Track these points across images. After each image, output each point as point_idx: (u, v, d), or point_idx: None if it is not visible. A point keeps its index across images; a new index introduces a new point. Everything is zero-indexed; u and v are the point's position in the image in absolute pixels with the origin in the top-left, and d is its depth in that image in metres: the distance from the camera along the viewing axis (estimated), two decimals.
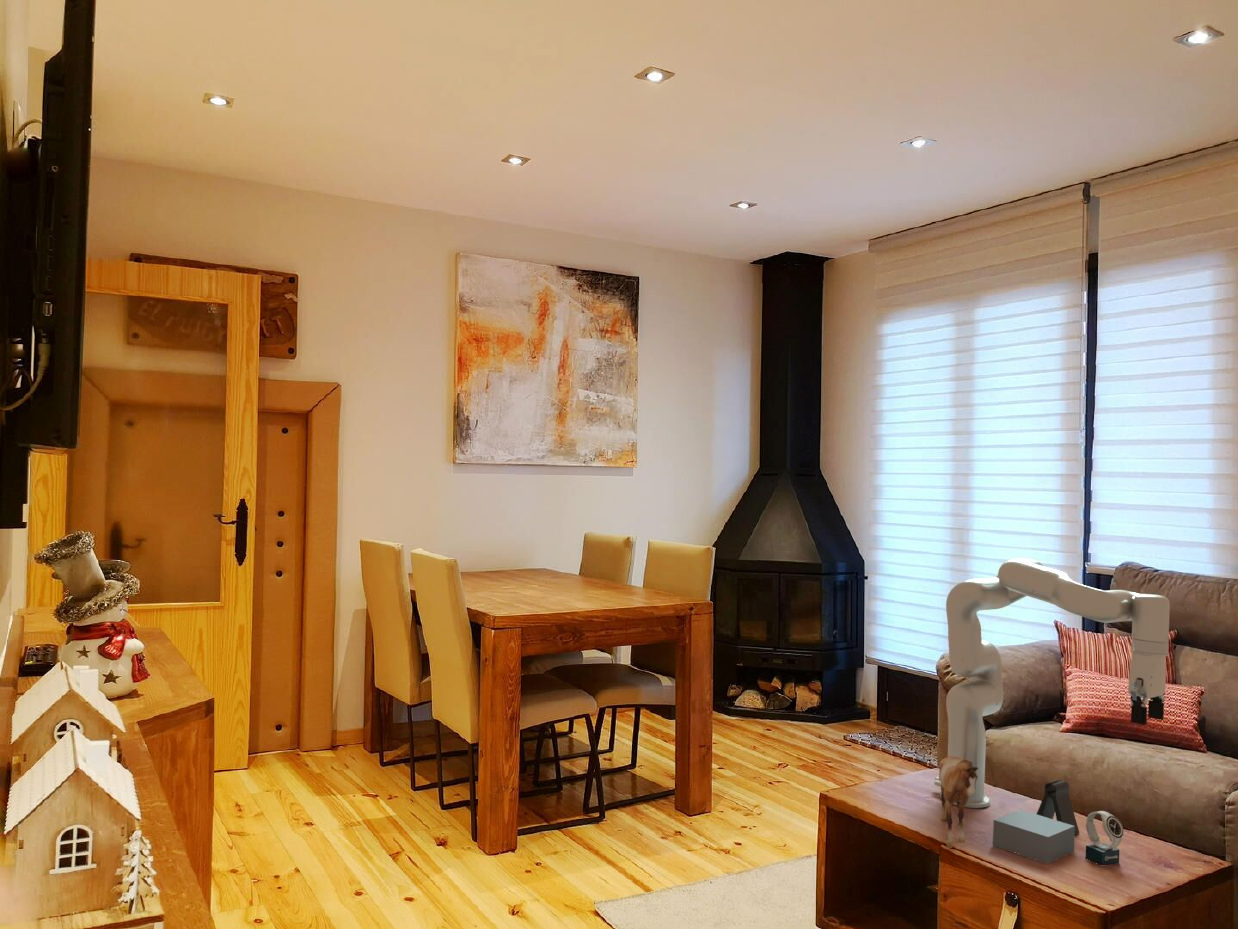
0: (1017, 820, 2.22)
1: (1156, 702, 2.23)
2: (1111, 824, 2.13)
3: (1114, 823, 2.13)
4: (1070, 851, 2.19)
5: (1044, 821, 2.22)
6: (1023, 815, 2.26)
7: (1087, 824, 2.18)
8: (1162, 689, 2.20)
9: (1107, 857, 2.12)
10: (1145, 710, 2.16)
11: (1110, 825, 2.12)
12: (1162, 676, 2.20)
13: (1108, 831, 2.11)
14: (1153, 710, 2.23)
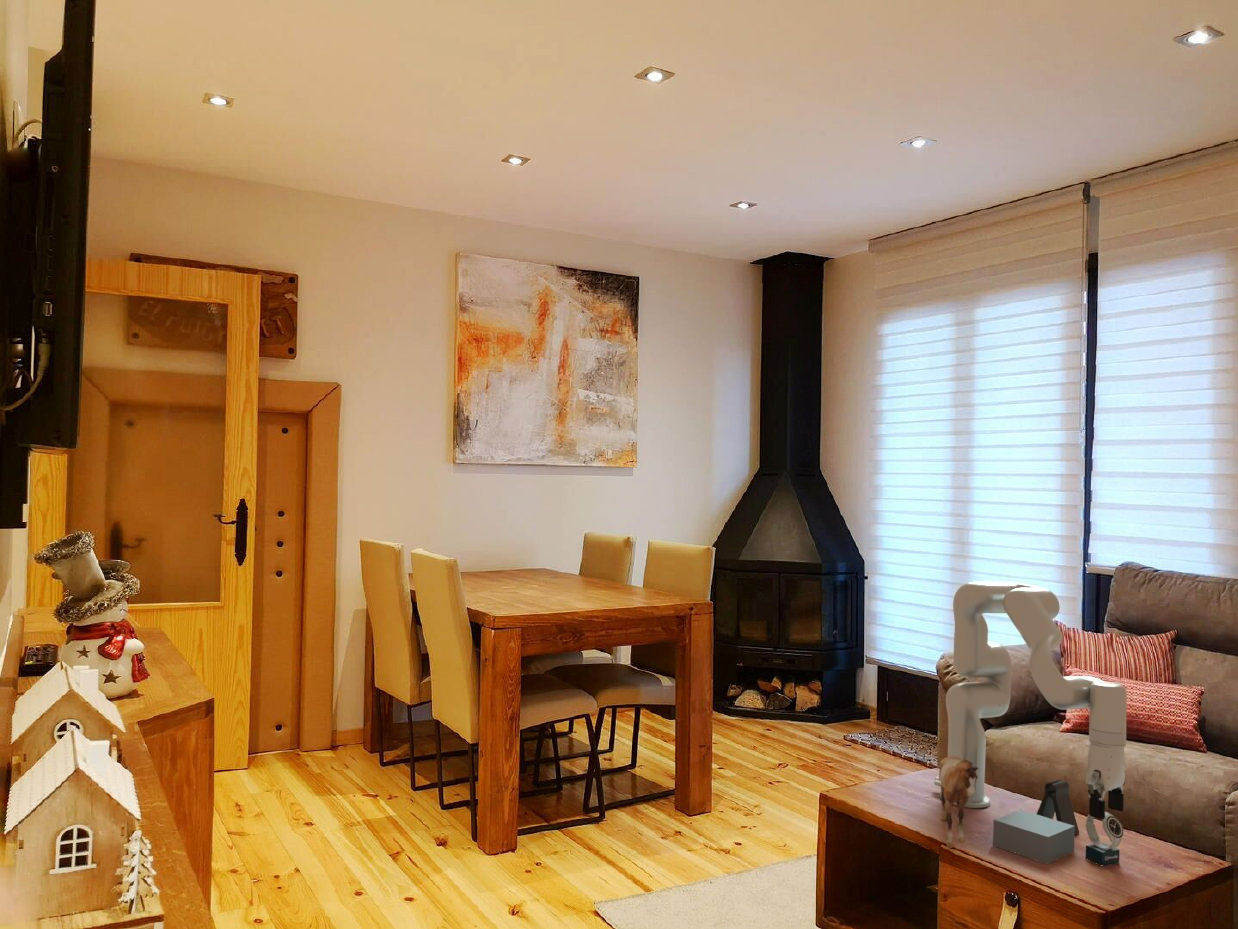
0: (1017, 820, 2.22)
1: (1116, 793, 2.18)
2: (1111, 824, 2.13)
3: (1114, 823, 2.13)
4: (1070, 851, 2.19)
5: (1044, 821, 2.22)
6: (1023, 815, 2.26)
7: (1087, 824, 2.18)
8: (1121, 781, 2.15)
9: (1107, 857, 2.12)
10: (1103, 804, 2.10)
11: (1110, 825, 2.12)
12: (1120, 767, 2.14)
13: (1108, 831, 2.11)
14: (1113, 801, 2.18)
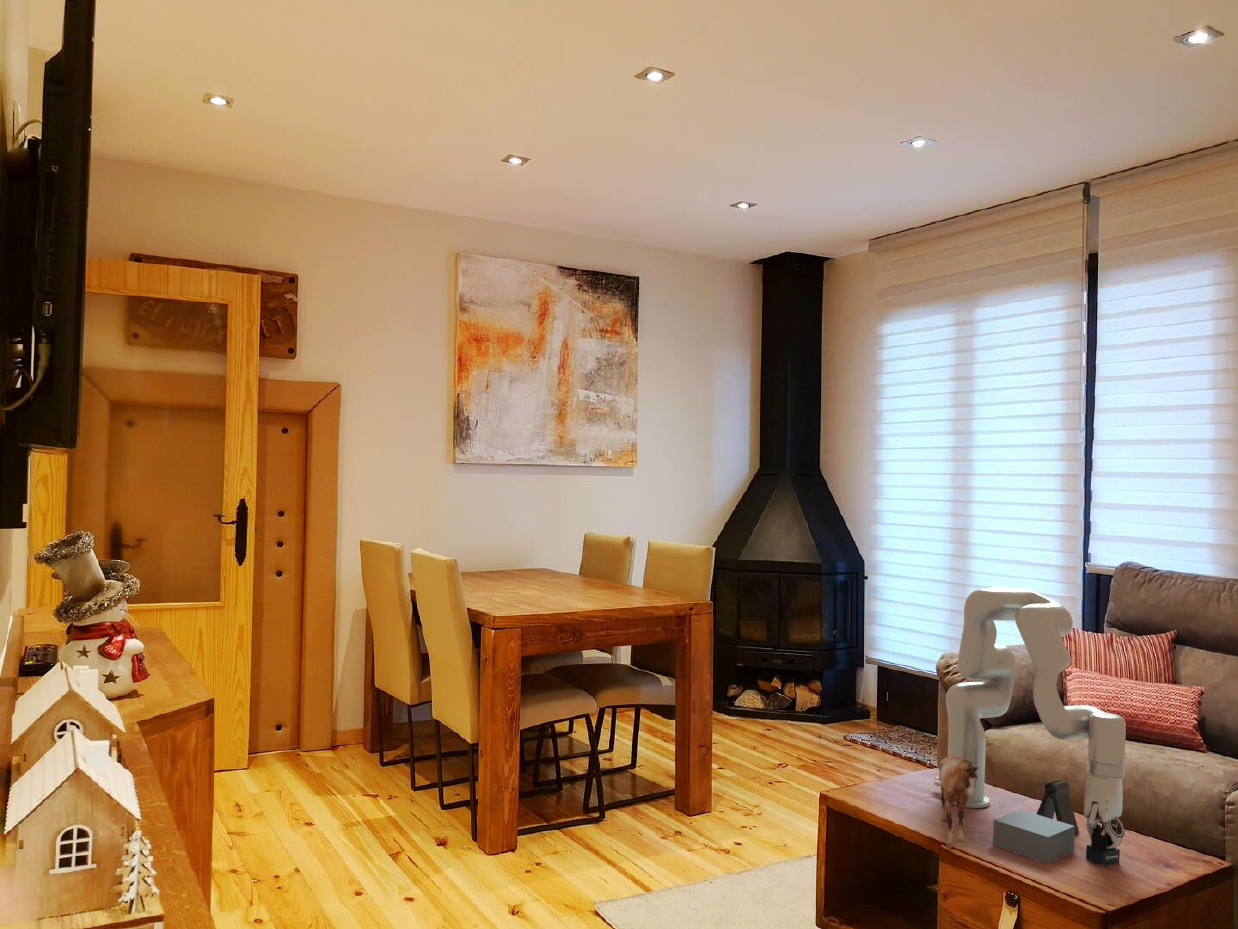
0: (1017, 820, 2.22)
1: None
2: (1113, 824, 2.13)
3: (1116, 822, 2.13)
4: (1070, 851, 2.19)
5: (1044, 821, 2.22)
6: (1023, 815, 2.26)
7: (1088, 824, 2.18)
8: (1119, 812, 2.15)
9: (1108, 856, 2.12)
10: (1105, 839, 2.12)
11: (1112, 825, 2.12)
12: (1118, 799, 2.14)
13: (1110, 830, 2.11)
14: None
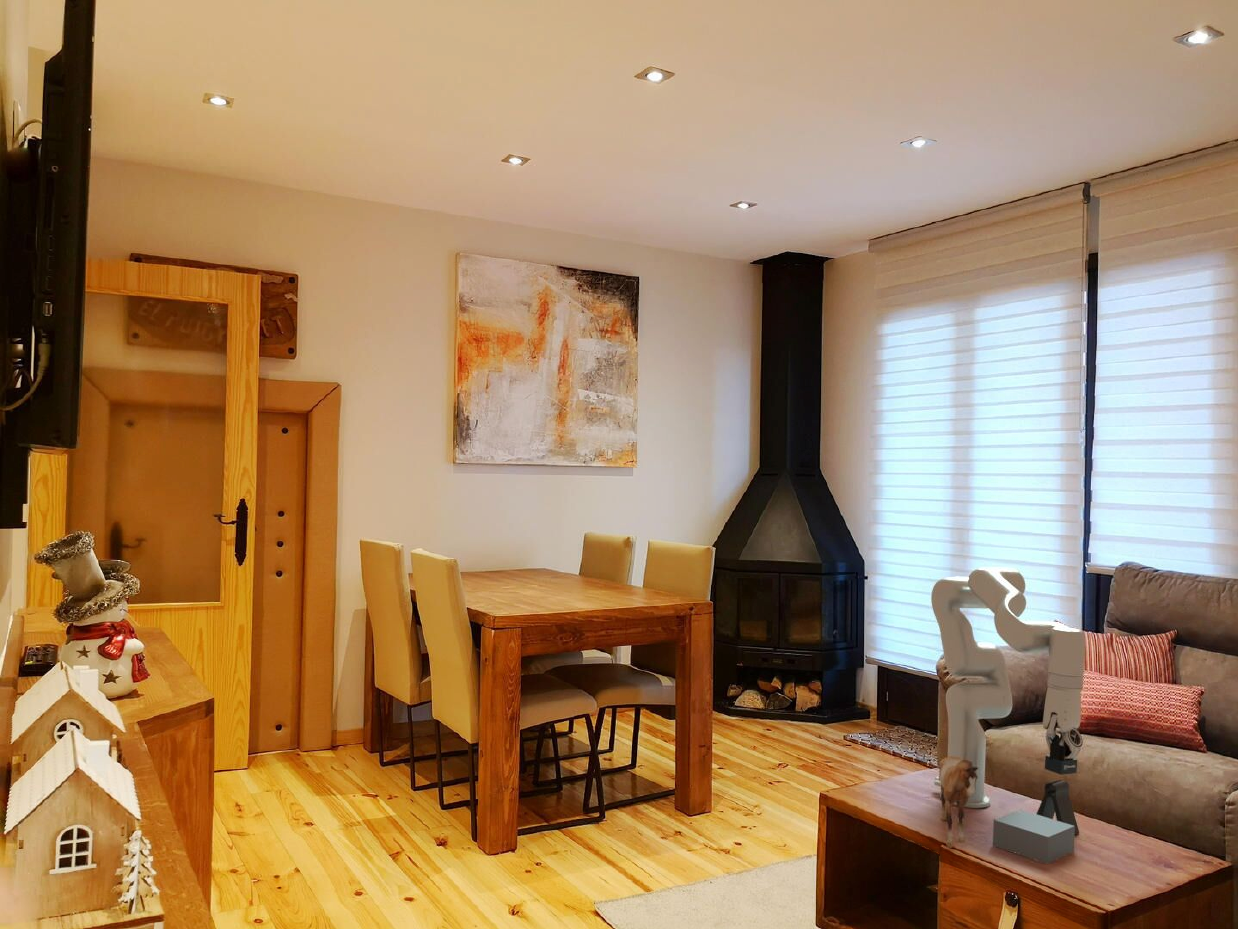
0: (1017, 820, 2.22)
1: None
2: (1071, 734, 2.17)
3: (1075, 733, 2.17)
4: (1070, 851, 2.19)
5: (1044, 821, 2.22)
6: (1023, 815, 2.26)
7: (1047, 735, 2.22)
8: (1077, 723, 2.19)
9: (1066, 766, 2.17)
10: (1063, 749, 2.17)
11: (1070, 735, 2.17)
12: (1077, 710, 2.19)
13: (1069, 740, 2.16)
14: None
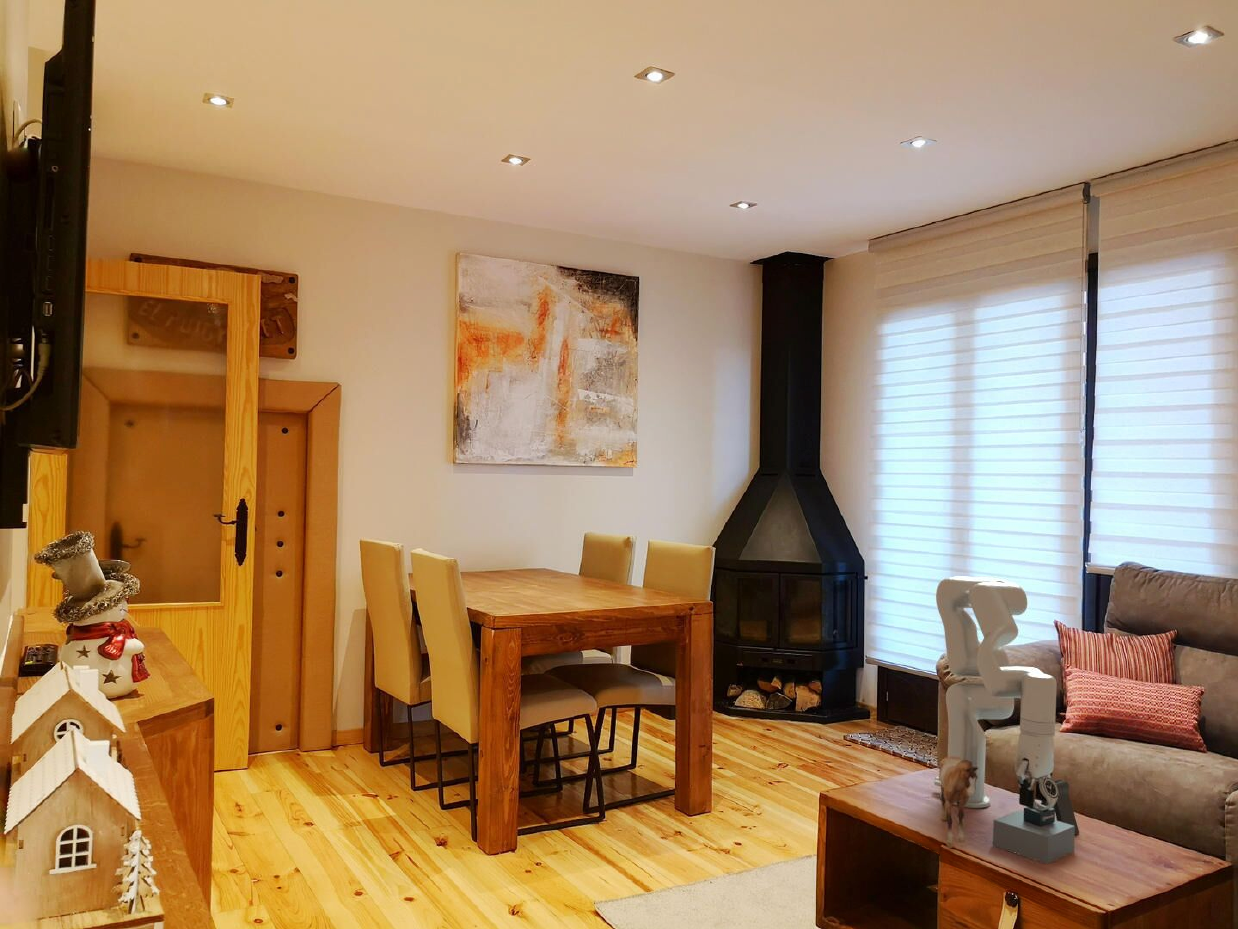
0: (1017, 820, 2.22)
1: None
2: (1047, 785, 2.19)
3: (1050, 784, 2.20)
4: (1070, 851, 2.19)
5: None
6: (1023, 815, 2.26)
7: None
8: (1050, 768, 2.21)
9: (1044, 817, 2.19)
10: (1032, 793, 2.17)
11: (1046, 786, 2.19)
12: (1049, 756, 2.20)
13: (1045, 792, 2.18)
14: (1040, 791, 2.24)
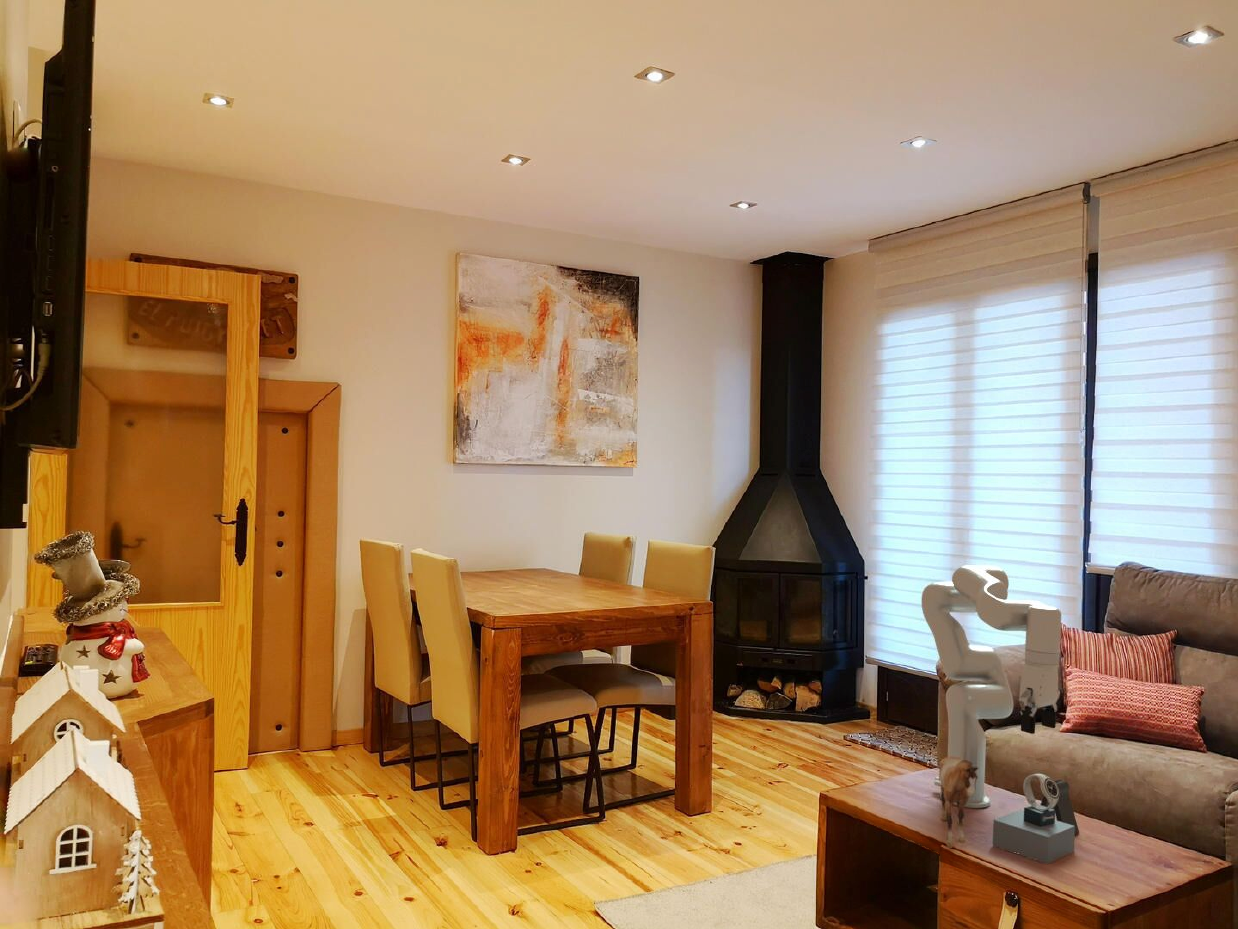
0: (1017, 820, 2.22)
1: (1049, 711, 2.28)
2: (1048, 786, 2.19)
3: (1051, 784, 2.20)
4: (1070, 851, 2.19)
5: None
6: (1023, 815, 2.26)
7: (1024, 787, 2.24)
8: (1053, 699, 2.25)
9: (1044, 817, 2.19)
10: (1033, 720, 2.21)
11: (1048, 787, 2.19)
12: (1053, 686, 2.24)
13: (1046, 792, 2.18)
14: (1046, 719, 2.28)
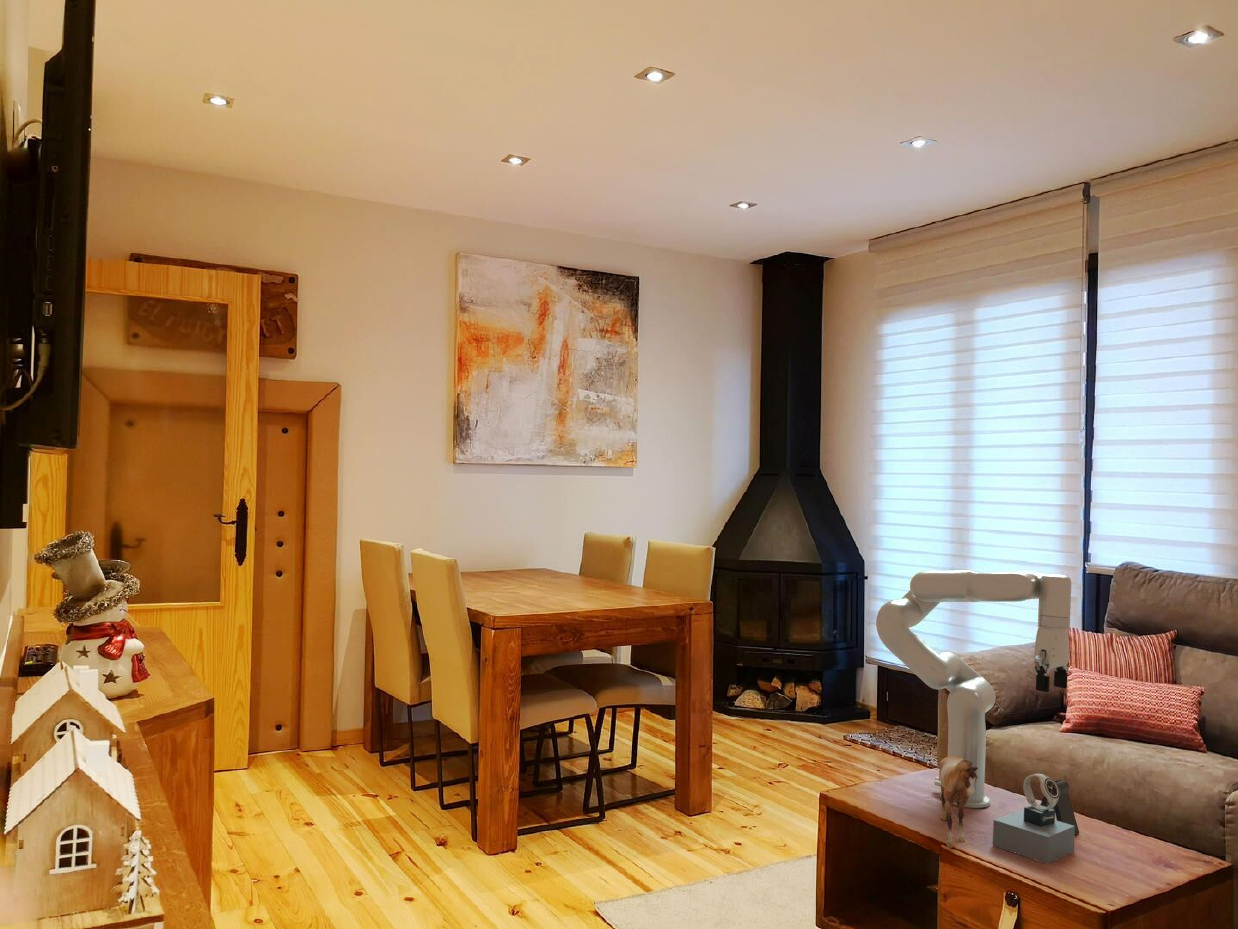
0: (1017, 820, 2.22)
1: (1061, 672, 2.46)
2: (1048, 786, 2.19)
3: (1051, 784, 2.20)
4: (1070, 851, 2.19)
5: None
6: (1023, 815, 2.26)
7: (1024, 787, 2.24)
8: (1065, 660, 2.43)
9: (1044, 817, 2.19)
10: (1048, 679, 2.38)
11: (1048, 787, 2.19)
12: (1065, 648, 2.42)
13: (1046, 792, 2.18)
14: (1058, 680, 2.46)
